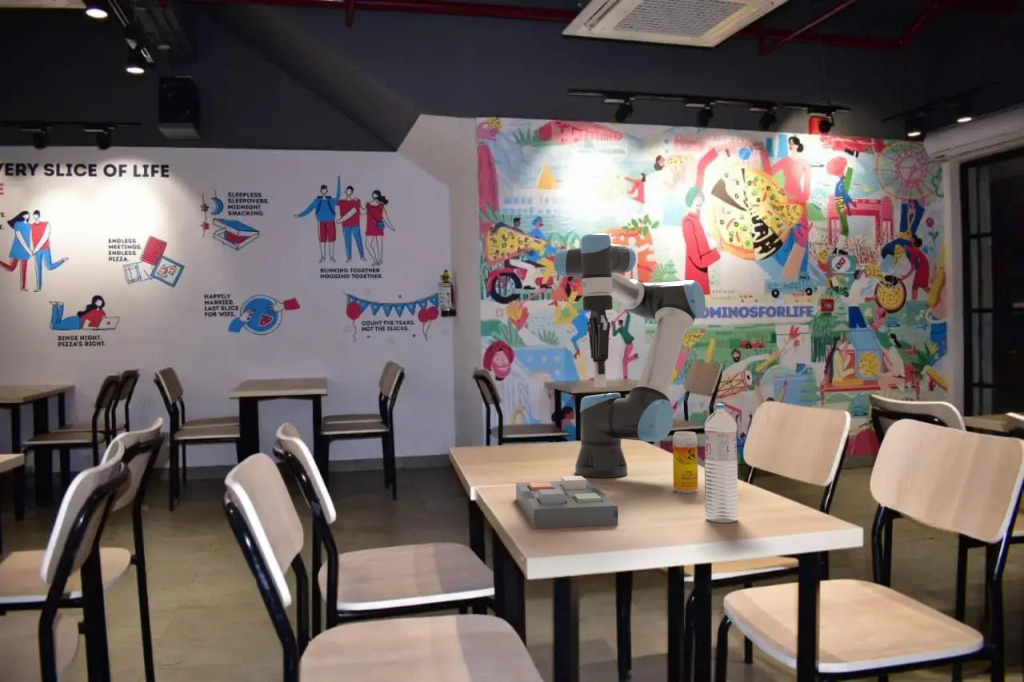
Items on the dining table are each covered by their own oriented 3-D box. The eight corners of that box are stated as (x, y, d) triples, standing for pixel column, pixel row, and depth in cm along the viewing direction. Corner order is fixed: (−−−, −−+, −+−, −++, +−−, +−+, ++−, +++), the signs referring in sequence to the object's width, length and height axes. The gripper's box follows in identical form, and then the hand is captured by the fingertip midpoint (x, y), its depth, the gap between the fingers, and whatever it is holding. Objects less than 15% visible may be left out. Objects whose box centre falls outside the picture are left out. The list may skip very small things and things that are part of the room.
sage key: (595, 506, 162) (595, 493, 162) (601, 511, 157) (601, 497, 157) (573, 507, 162) (573, 493, 162) (578, 512, 157) (578, 498, 157)
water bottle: (733, 525, 151) (731, 406, 151) (701, 521, 155) (699, 404, 155) (741, 518, 157) (740, 403, 157) (710, 514, 161) (709, 402, 161)
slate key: (560, 502, 161) (560, 488, 161) (565, 507, 156) (564, 493, 156) (538, 503, 161) (538, 489, 161) (542, 508, 156) (542, 494, 156)
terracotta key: (549, 494, 175) (549, 482, 175) (553, 499, 170) (552, 486, 170) (528, 495, 174) (528, 482, 174) (532, 499, 169) (532, 487, 169)
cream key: (581, 488, 176) (581, 475, 176) (586, 492, 171) (586, 479, 171) (561, 488, 175) (561, 476, 175) (565, 493, 170) (565, 480, 170)
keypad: (587, 496, 181) (587, 480, 181) (618, 524, 153) (617, 505, 153) (516, 498, 179) (516, 482, 179) (534, 528, 151) (534, 509, 151)
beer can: (684, 494, 181) (683, 434, 181) (668, 490, 186) (667, 432, 186) (703, 491, 184) (702, 433, 184) (686, 487, 189) (686, 430, 189)
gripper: (576, 296, 191) (579, 385, 191) (589, 294, 178) (593, 390, 179) (604, 295, 192) (607, 383, 193) (619, 293, 179) (622, 388, 180)
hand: (600, 386), depth 186 cm, fingers closed
